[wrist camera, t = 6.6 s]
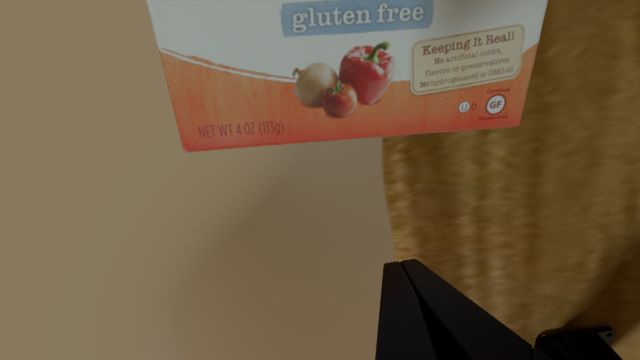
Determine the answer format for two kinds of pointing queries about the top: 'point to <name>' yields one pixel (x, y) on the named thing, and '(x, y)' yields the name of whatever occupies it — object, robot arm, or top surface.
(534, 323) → the top surface
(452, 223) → the top surface
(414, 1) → the cracker box
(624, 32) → the top surface
